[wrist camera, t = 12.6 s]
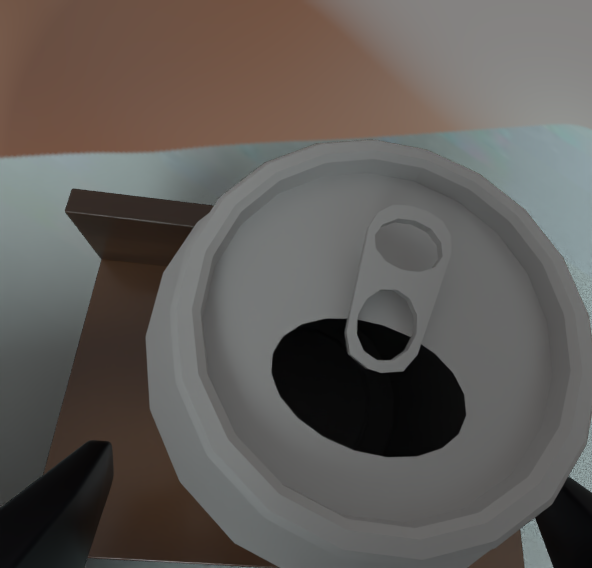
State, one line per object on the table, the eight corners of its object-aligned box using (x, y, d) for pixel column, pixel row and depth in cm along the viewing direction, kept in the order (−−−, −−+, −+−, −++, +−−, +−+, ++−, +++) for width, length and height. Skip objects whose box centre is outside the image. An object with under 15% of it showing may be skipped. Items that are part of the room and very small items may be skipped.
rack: (472, 556, 19) (615, 625, 12) (67, 532, 18) (-62, 594, 10) (454, 308, 24) (549, 245, 16) (129, 274, 22) (71, 187, 15)
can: (173, 467, 15) (-13, 521, 4) (240, 289, 18) (232, 45, 7) (365, 529, 15) (673, 742, 4) (402, 341, 18) (647, 177, 7)
